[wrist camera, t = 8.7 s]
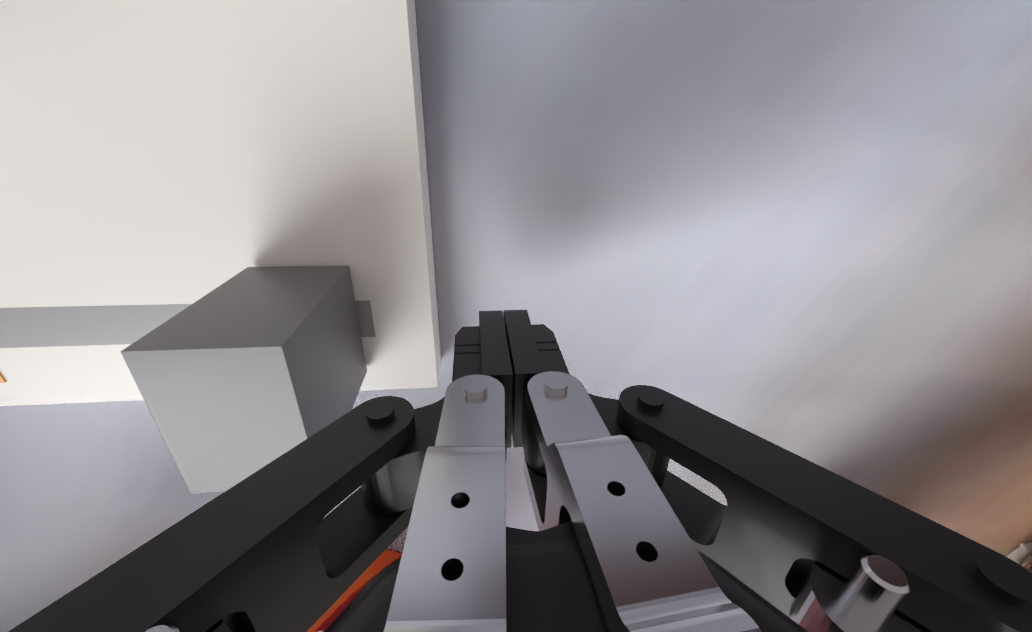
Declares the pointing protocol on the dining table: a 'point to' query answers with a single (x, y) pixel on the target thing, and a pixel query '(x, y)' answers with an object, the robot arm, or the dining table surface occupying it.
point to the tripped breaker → (251, 370)
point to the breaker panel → (205, 176)
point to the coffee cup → (355, 589)
